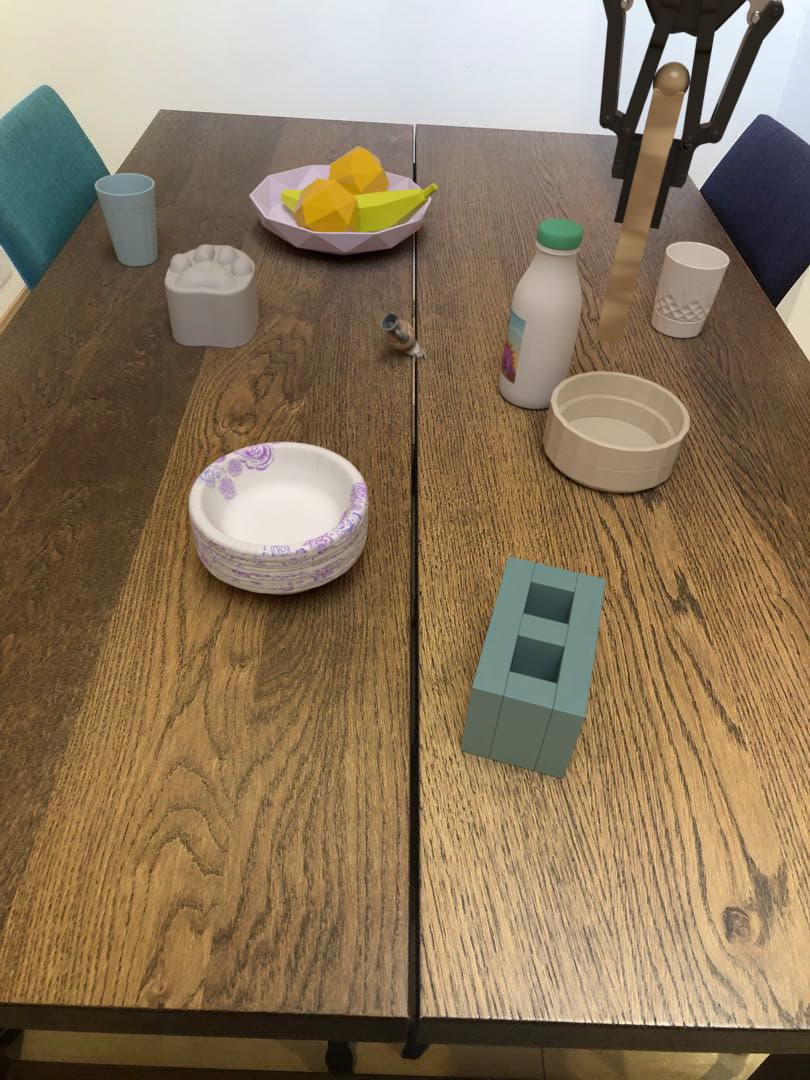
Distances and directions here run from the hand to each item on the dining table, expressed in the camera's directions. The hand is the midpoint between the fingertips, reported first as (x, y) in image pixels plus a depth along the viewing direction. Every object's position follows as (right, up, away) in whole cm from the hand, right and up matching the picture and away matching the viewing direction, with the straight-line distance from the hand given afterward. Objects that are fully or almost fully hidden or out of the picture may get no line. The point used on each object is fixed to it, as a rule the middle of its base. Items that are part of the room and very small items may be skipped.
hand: (637, 219), depth 71 cm
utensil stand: (-11, -40, -6) cm, 42 cm away
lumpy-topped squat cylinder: (-44, 0, +33) cm, 56 cm away
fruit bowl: (-29, +18, +53) cm, 64 cm away
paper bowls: (-32, -30, +4) cm, 43 cm away
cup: (-58, +12, +45) cm, 74 cm away
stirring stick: (-1, -8, +8) cm, 12 cm away
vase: (-21, -6, +30) cm, 37 cm away
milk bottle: (-6, -11, +25) cm, 28 cm away
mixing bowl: (+2, -19, +17) cm, 26 cm away
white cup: (+16, +1, +39) cm, 42 cm away
